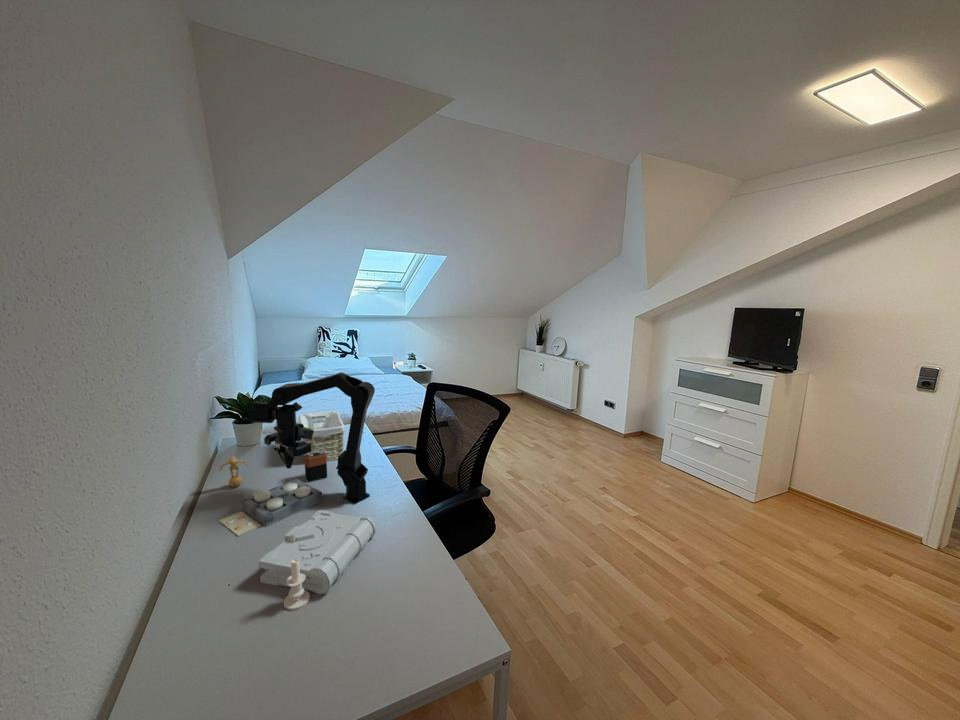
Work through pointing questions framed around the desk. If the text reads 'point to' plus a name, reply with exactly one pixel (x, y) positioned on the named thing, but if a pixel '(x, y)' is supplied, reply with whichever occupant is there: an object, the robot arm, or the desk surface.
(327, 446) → the storage basket
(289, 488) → the button
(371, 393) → the robot arm
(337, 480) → the desk surface
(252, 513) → the button board
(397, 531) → the desk surface
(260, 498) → the button
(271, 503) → the button
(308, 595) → the candle
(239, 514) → the pattern card
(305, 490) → the button
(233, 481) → the figurine
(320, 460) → the battery
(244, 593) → the desk surface
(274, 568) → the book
